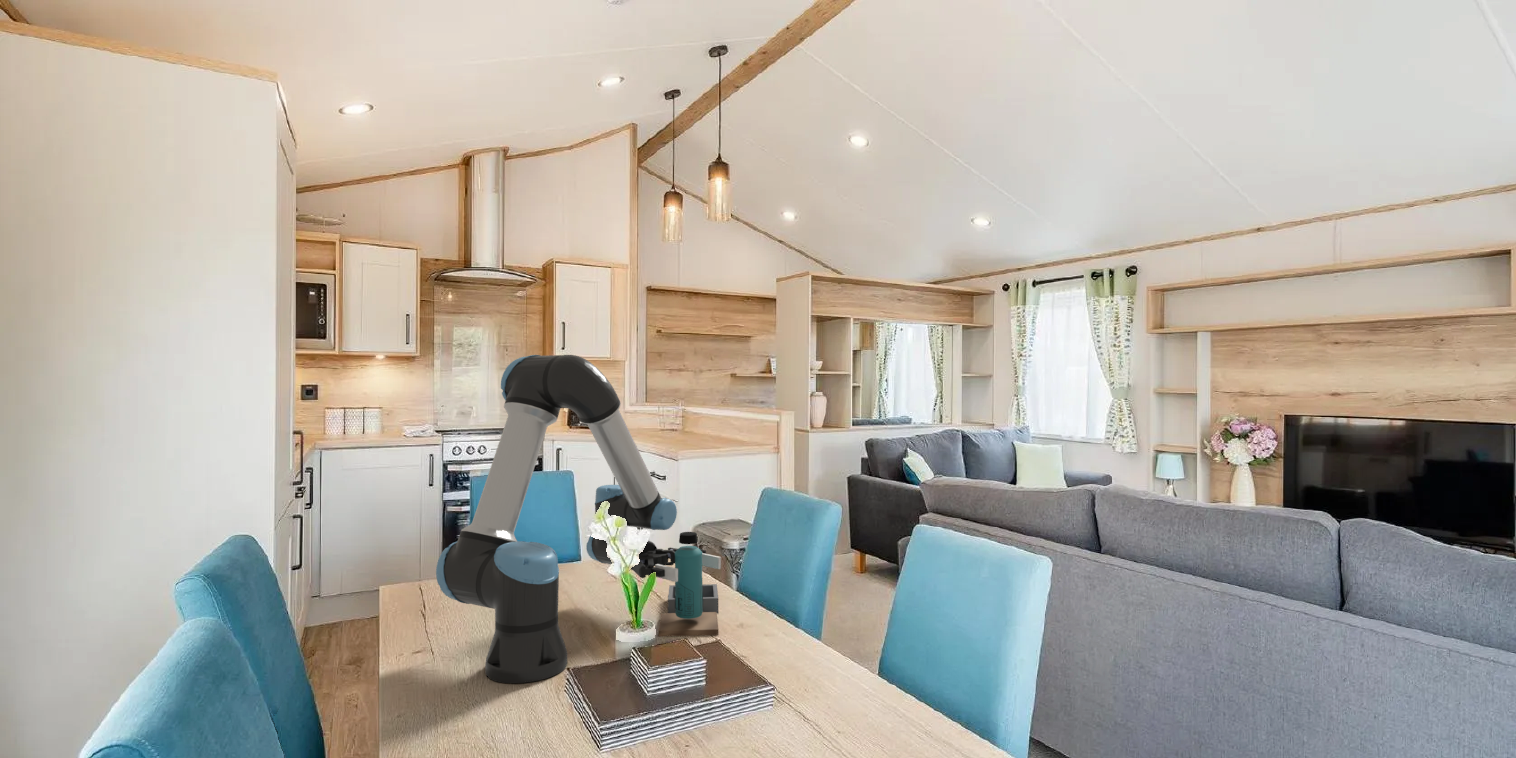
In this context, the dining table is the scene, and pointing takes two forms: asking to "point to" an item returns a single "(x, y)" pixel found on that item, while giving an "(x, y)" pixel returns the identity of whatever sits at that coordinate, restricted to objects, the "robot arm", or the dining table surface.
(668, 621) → the walnut board
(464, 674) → the dining table surface
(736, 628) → the dining table surface
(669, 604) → the gray square tray
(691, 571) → the beverage bottle
